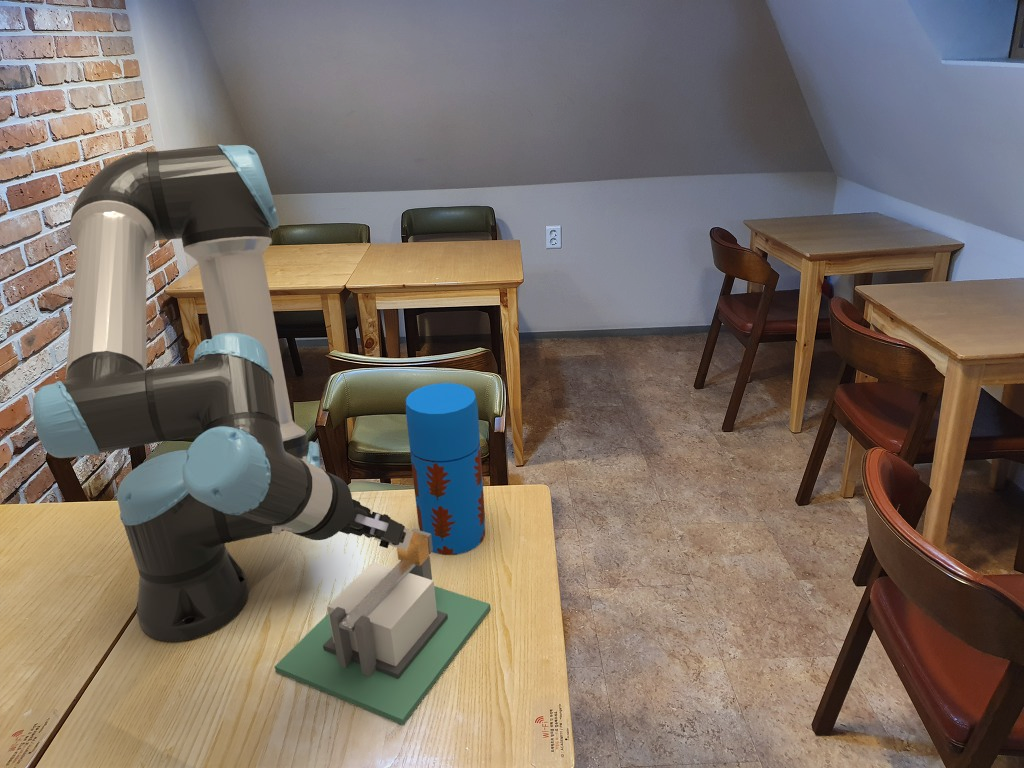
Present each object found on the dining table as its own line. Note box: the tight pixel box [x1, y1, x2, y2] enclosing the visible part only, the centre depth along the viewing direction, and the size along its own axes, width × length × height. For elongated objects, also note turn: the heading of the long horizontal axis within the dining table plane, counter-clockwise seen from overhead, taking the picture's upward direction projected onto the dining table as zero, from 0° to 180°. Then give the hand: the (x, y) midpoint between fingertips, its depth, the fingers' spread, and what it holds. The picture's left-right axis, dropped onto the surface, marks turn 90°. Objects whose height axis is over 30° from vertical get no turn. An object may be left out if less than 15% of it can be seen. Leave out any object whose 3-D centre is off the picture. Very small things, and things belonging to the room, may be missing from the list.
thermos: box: [405, 382, 486, 556], centre depth 121 cm, size 11×11×25 cm
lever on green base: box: [274, 528, 492, 726], centre depth 103 cm, size 20×22×11 cm
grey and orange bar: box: [339, 532, 430, 632], centre depth 102 cm, size 4×16×4 cm, turn 153°
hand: (405, 539), depth 105 cm, fingers closed
